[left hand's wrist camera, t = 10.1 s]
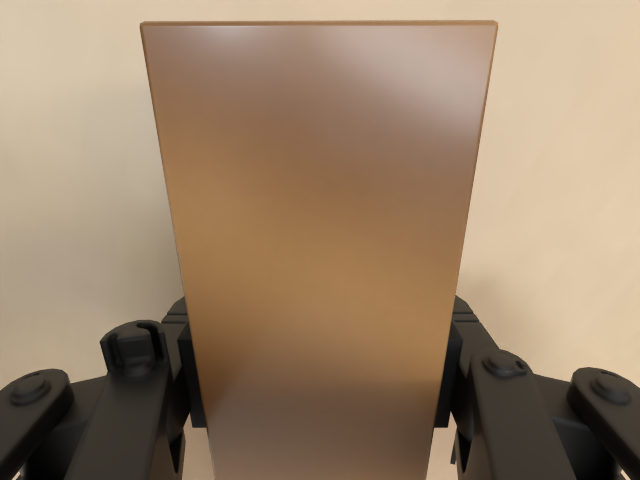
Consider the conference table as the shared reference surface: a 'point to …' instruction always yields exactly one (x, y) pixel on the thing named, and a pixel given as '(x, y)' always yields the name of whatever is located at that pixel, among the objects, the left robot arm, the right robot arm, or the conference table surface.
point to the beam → (319, 230)
